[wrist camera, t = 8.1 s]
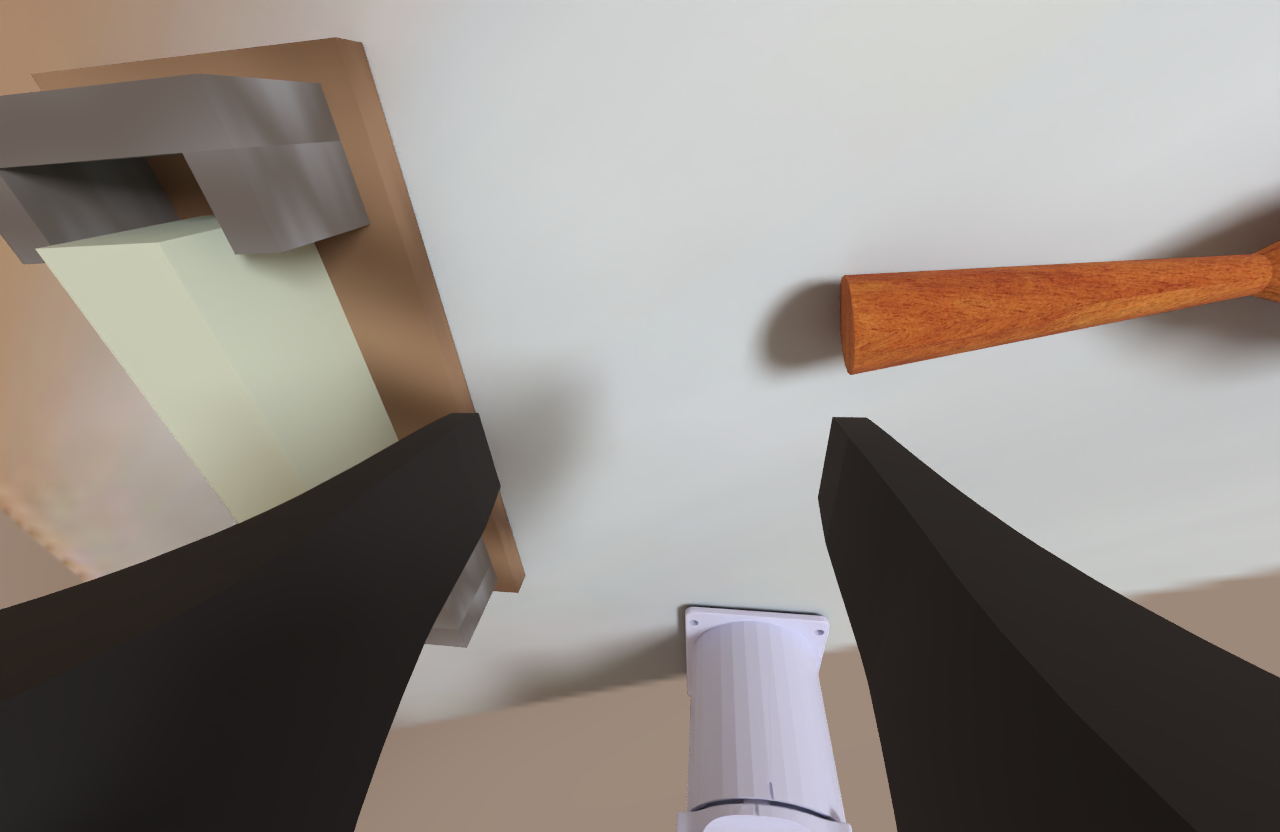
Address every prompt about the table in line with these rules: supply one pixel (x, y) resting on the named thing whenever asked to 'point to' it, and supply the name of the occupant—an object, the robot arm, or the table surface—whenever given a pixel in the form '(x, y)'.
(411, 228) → the cradle
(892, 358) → the brown piece
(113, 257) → the slat
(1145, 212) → the table surface
